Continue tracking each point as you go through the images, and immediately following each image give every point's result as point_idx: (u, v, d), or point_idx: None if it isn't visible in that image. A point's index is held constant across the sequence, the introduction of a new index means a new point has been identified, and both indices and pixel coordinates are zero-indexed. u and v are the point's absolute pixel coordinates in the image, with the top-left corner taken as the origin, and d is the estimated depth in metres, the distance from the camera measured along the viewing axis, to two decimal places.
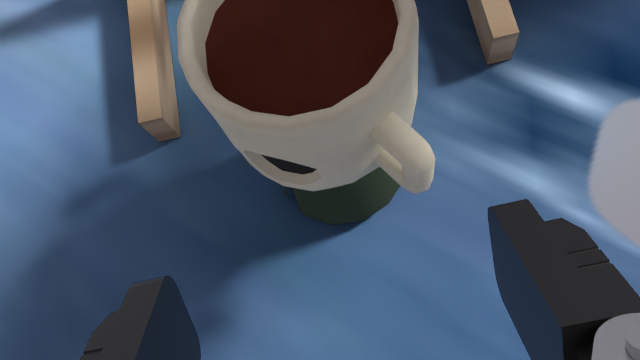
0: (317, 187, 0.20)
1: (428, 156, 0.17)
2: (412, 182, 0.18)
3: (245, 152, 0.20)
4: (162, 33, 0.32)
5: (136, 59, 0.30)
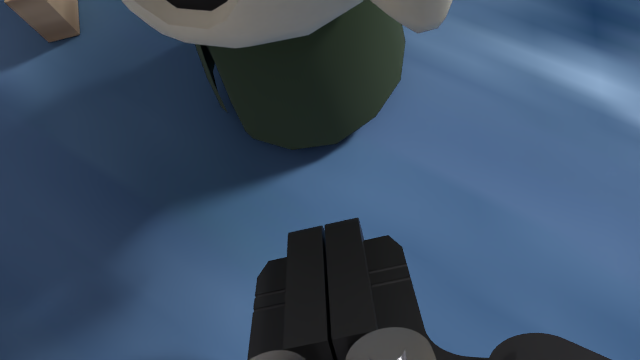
0: (236, 31, 0.11)
1: None
2: None
3: None
4: None
5: None
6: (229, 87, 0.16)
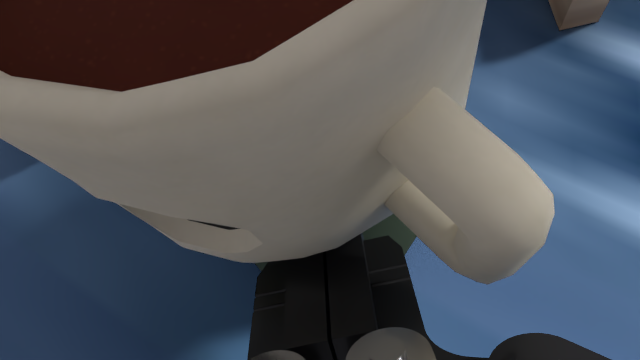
0: (259, 260, 0.09)
1: (544, 212, 0.06)
2: (482, 267, 0.07)
3: None
4: None
5: None
6: None
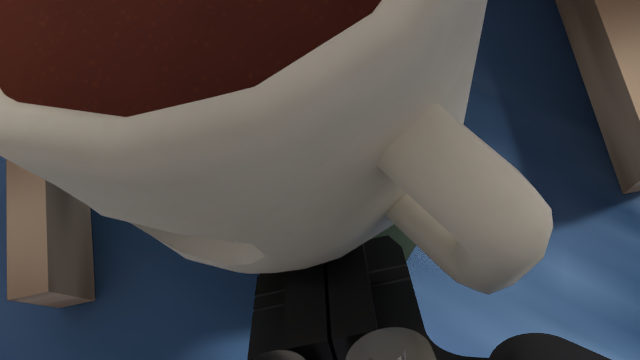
0: (262, 271, 0.09)
1: (542, 227, 0.06)
2: (483, 279, 0.07)
3: None
4: None
5: (13, 177, 0.17)
6: None
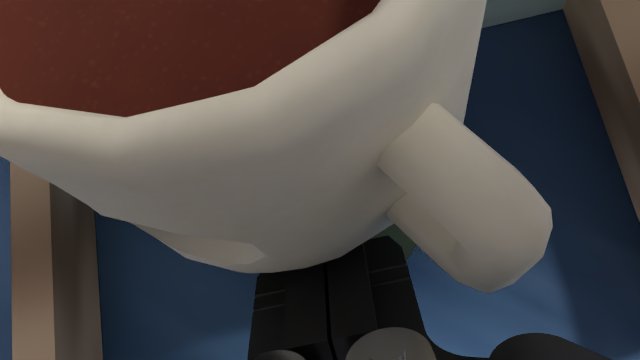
0: (262, 271, 0.09)
1: (542, 226, 0.06)
2: (483, 278, 0.07)
3: None
4: (78, 235, 0.18)
5: (19, 311, 0.16)
6: None
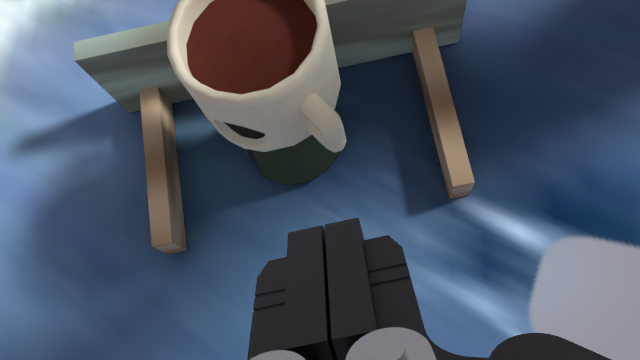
0: (266, 148, 0.29)
1: (337, 123, 0.25)
2: (329, 142, 0.27)
3: (214, 122, 0.28)
4: (172, 158, 0.37)
5: (150, 187, 0.35)
6: (256, 157, 0.33)
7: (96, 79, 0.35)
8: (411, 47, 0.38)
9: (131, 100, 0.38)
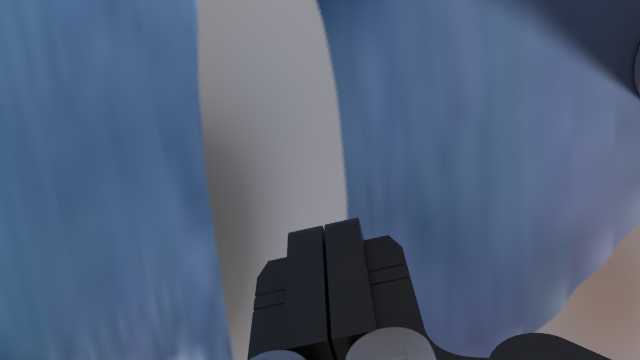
0: None
1: None
2: None
3: None
4: None
5: None
6: None
7: None
8: None
9: None
